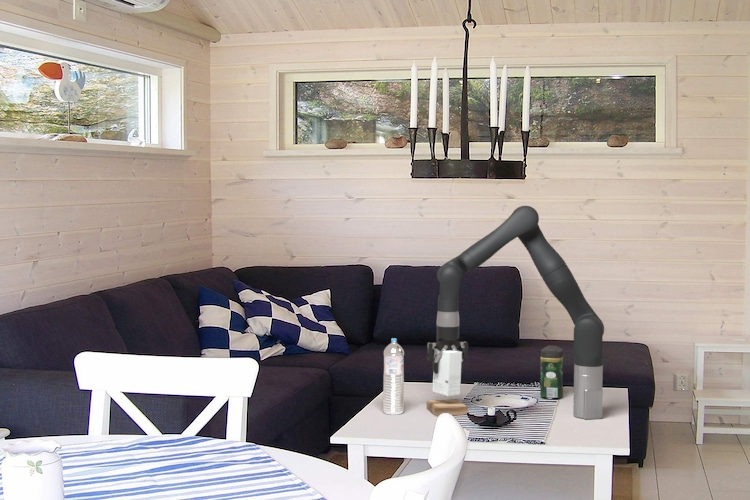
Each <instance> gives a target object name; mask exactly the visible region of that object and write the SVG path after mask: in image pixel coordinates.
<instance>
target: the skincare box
mask: <svg viewBox="0 0 750 500" xmlns="http://www.w3.org/2000/svg"><path fill="white" fill-rule="evenodd" d="M433 350H434V351H433V352H434V353H433V357H434V356H435V353H439V352H440V351H439V350H438V349H437V348H434V349H433ZM462 356H463V351H460V350H457V351H452V350H447V351H442V356H441V358H440V359H439V360H438V362H437V363H438V374H435V373H434V372H433V371H432V372H433V375H432V393H436V394H438V395H443V396H446V397H450V396H456V395H457V396H458V395H460V394H461V383H462V381H461V379H462V371H461V362H462ZM462 363H463V362H462Z"/></svg>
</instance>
